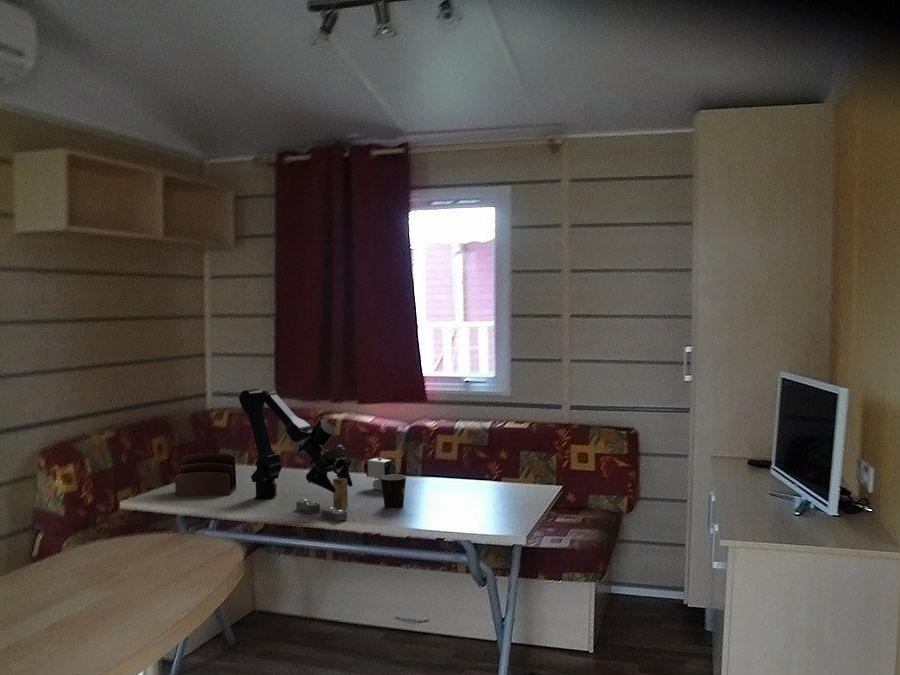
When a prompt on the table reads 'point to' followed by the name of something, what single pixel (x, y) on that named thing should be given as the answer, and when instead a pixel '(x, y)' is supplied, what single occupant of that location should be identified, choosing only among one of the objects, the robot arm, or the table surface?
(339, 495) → the tall brown post
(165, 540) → the table surface
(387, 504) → the coffee mug
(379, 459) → the pneumatic valve
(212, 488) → the letter holder
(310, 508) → the chain ends
